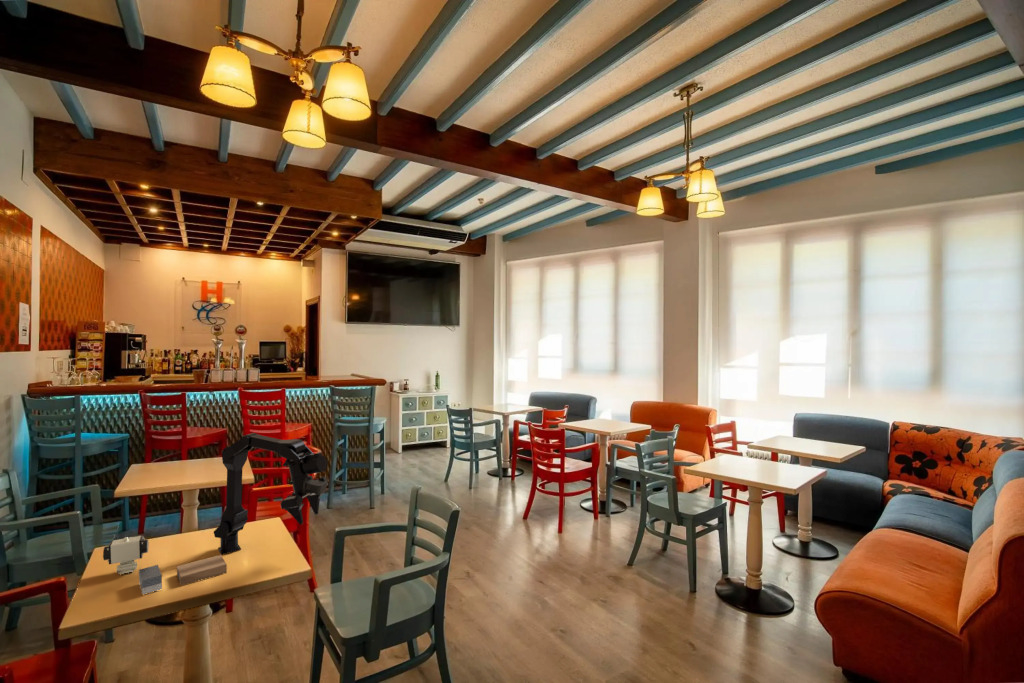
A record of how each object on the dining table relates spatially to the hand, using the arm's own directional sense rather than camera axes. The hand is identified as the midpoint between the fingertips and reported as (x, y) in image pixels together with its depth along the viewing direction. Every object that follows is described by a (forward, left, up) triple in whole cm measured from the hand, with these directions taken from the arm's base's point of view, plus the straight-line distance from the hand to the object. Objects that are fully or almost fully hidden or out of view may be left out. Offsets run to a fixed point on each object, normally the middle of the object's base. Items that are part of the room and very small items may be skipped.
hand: (309, 519), depth 177 cm
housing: (-15, -45, -15) cm, 50 cm away
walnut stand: (-14, -31, -15) cm, 37 cm away
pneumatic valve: (-32, -50, -15) cm, 61 cm away
